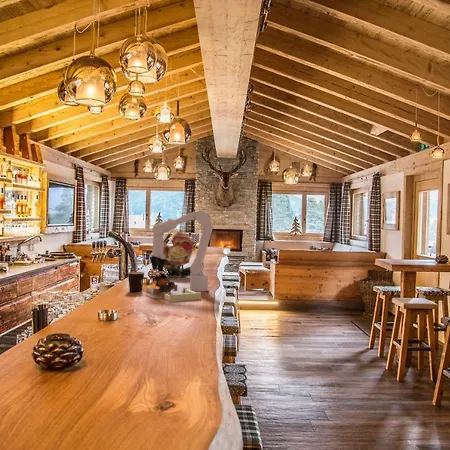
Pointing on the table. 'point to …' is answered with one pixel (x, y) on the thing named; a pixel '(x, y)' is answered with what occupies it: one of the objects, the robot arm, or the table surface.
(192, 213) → the robot arm
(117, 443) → the table surface
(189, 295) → the lane
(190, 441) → the table surface
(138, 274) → the coffee mug
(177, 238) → the rose bouquet
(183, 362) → the table surface
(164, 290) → the pottery mug
